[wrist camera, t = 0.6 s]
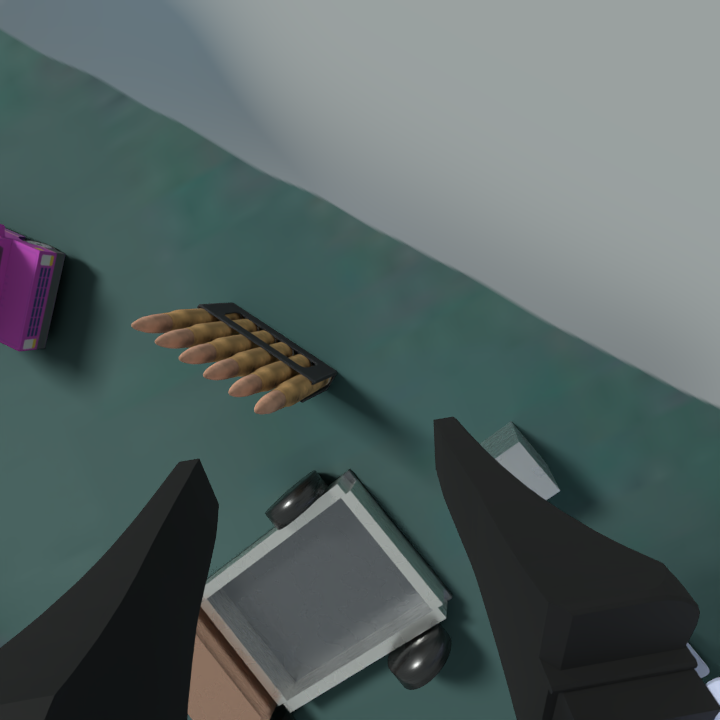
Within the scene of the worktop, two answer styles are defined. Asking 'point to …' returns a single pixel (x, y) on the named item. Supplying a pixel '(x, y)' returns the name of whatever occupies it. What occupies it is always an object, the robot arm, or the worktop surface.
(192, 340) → the ammunition clip
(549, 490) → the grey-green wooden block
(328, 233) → the worktop surface
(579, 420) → the worktop surface
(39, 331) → the toy truck
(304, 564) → the chassis
